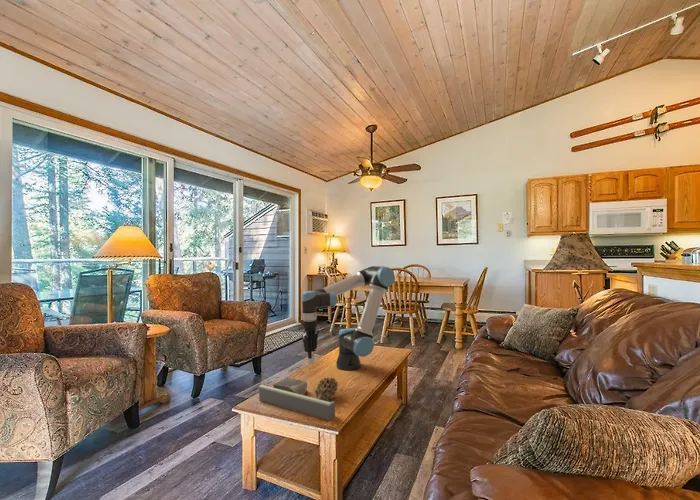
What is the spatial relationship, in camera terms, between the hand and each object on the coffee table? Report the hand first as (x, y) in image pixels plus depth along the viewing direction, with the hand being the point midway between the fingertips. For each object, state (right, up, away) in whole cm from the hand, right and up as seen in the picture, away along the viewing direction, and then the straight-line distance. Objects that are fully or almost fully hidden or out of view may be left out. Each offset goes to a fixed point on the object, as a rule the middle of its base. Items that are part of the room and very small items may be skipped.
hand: (311, 363), depth 177 cm
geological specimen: (-8, -11, -13) cm, 19 cm away
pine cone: (+8, -10, -24) cm, 27 cm away
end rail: (-4, -10, -29) cm, 31 cm away
